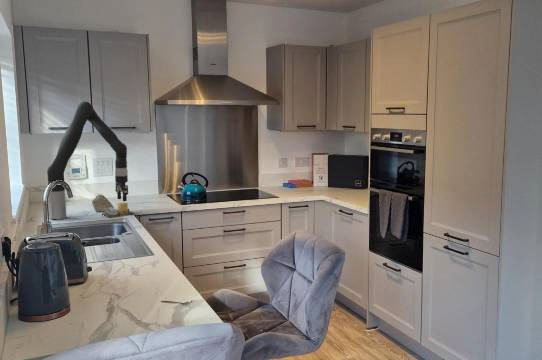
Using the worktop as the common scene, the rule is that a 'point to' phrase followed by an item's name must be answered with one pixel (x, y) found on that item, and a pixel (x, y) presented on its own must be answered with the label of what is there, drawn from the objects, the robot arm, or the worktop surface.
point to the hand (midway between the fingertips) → (122, 200)
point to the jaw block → (123, 207)
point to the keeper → (111, 211)
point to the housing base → (117, 214)
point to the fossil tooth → (101, 203)
